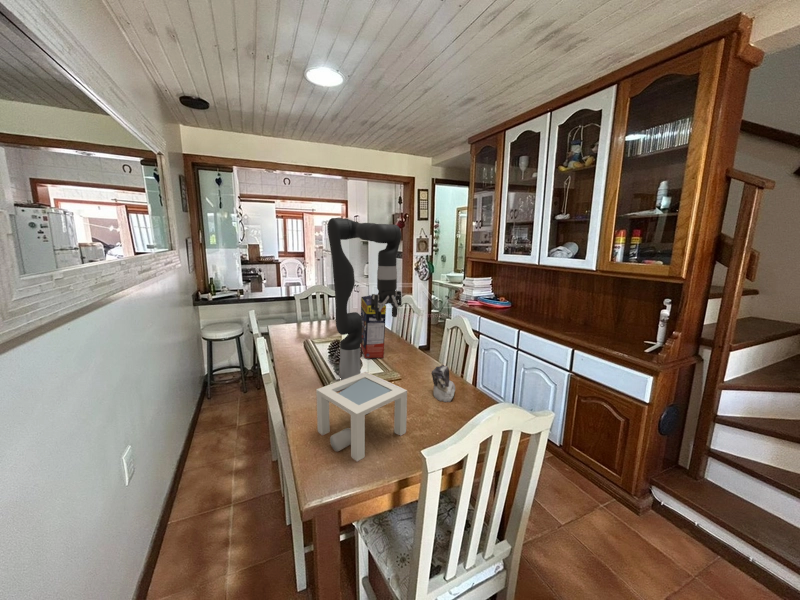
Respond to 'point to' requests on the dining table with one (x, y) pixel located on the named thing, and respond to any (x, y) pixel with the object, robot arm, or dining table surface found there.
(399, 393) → the stand
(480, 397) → the dining table surface
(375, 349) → the cereal box
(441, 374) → the stone
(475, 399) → the dining table surface
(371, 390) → the trapdoor
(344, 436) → the white rounded cylinder
